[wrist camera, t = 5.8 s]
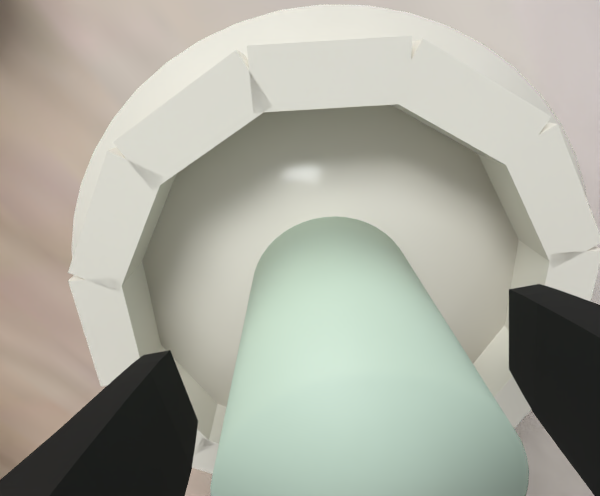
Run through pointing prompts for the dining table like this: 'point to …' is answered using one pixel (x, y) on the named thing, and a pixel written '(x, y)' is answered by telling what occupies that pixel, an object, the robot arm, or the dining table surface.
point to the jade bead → (356, 381)
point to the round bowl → (323, 189)
